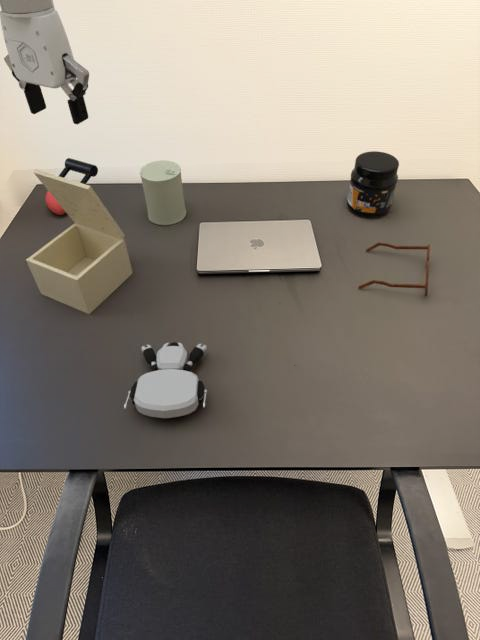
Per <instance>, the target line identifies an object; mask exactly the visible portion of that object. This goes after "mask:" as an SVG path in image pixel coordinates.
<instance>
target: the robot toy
mask: <svg viewBox="0 0 480 640" xmlns="http://www.w3.org/2000/svg"><path fill="white" fill-rule="evenodd" d="M145 346H146V347H145ZM207 348H208V346H207V345H206V344H203V343H198V344H197V345H196V346H194V347H193V348H192V349H191V351H190V353H189V355H188V351H187V349H186V348H185V347H184V345H183V343H181V342H179V341H177V342H176V341H173V342H171V343H170V342H166V343H164V344H163V346H162V347H161V348H160V349H159V350H158V351H157V352H155V350H154V349H153V346H152V345H150V344H146V345H142V346H141V352H142V356H143V357H144V361H145V362H146V363H147V364H148V365H150V370H151V371H149V372H146V373H144V374H142V375H140V376H139V378H138V379H137V381H135V382H134V383H133V385H132V386H131V388H130V390H128V392H127V394H128V395H127V397H126V399H125V403H124V404H123V408H124V409H127V406H128V402H129V400H130V401H131V404H132V405H133V406H135V408H136V410H137V412H139V413H140V414H142V415H144V416H147V417H151V418H159V419H172V418H177V417H183V416H187V415H190V414H191V413H193V412H195V411H196V410H197V409H198V406H199V405H201V404H202V408H206V399H207V395H208V389H205V388H206V387H205V384H204V382H203V381H202V380H200V379H199V377H198V375H197V374H196V373H194V372H192V366H193V365H196V364H198V363H199V362H200V361H201V360H202V358H203V357H204V355H205V354H204V353H205V352H206V351H207Z"/></svg>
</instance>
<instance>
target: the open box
mask: <svg viewBox="0 0 480 640" xmlns="http://www.w3.org/2000/svg"><path fill="white" fill-rule="evenodd" d="M25 262H26V263H27V267H28V268H29V270H30V273H31V274H32V277H33V279H34V281H35V283H36V286H37V288H38V290H39V292H40V294H41V295H42V296H45V297H47V298H49V299H51V300H54V301H56V302H58V303H61V304H64V305H66V306H68V307H70V308H73V309H75V310H78V311H80V312H83V313H85V314H87V315H91V314H92V312H94V311H95V310H96V309H97V308H98V307H99V306H100V305H102V303H104V301H105V300H107V299H108V297H110V296H111V295H112V294H113V293H114V292H115V291H116V290H117V289H118V288H119V287H120V286H122V284H124V282H125V281H126V280H127V279H129V277H131V276H132V275H133V268H132V264H131V261H130V257H129V252H128V247H127V245H126V240H125V238H123V239H122V238H119V237H116V236H114V235H111V234H108V233H105V232H102V231H99V230H96V229H93V228H90V227H87V226H84V225H82V224H79V223H76V222H73V224H71V225H70V226H69V227H67V228H66V229H65V230H64V231H62V232H61V233H60V234H58V235H57V236H55V237H54V238H53V239H51V240H50V241H49V242H47V243H46V244H45V245H44V246H42V247H41V248H39V249H38V250H37V251H36V252H34V253H33V254H32V255H30V256H29V257H27V258H26V259H25Z"/></svg>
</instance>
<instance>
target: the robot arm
mask: <svg viewBox="0 0 480 640" xmlns="http://www.w3.org/2000/svg"><path fill="white" fill-rule="evenodd" d="M0 25H1V30H2V35H3V40H4V43H5V44H4V45H5V47H6V51H7V55H6V56H4V58H3V60H4V62H5V64H6V65H7V67H8V68H9V70H10V71H11V75H12V76H13V78H14V79H15V80H16V81H17V82H18V87H19V88H20V89H21V90H22V91H23V93H24V96H25V100H26V102H27V105H28V108H29V111H30V113H31V114H33V115H35V114H38V113H40V112H42V111H44V110H46V109H47V105H46V101H45V97H44V95H43V91H42V87H45V88H50V89H58V88H61V89H62V91H63V92H64V93H65V95H66V96H67V97H68V98H69V99H67V105H68V108H69V112H70V116H71V120H72V123H73V124H74V125H80V124H81V123H83V122H84V121H86V120H88V119H89V113H88V108H87V105H86V104H87V103H86V101H85V97H84V96H85V95H86V93H87V90H88V89H89V80H90V72H89V70H88V69H87V68H85V67H84V66H83V65H81V63H79V62H78V61H76V60H75V58H74V55H73V51H72V47H71V45H70V42H69V39H68V35H67V32H66V30H65V27H64V25H63V22H62V20H61V17H60V14H59V13H58V10H57V9H56V8H55V4H54V0H0ZM70 84H71V86H72V87H73V89H72V88H71V86H70Z"/></svg>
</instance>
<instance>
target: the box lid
mask: <svg viewBox="0 0 480 640" xmlns="http://www.w3.org/2000/svg"><path fill="white" fill-rule="evenodd" d="M70 171H72V172H75V173H79V174H82V175H84V176H83V177H82V179H81V180H80V181H79V182H78V181H76V180H73V179H69V178H66V176H67V175H68V174H69V172H70ZM98 172H99V168H98V166H97V165H95V164H92V163H88V162H85V161H81V160H78V159H74V158H71V157H68V158H66V159H65V160H64V168H63V169H62V171H61V172H60V173H59V175H56V174H53V173H50V172H47V171H43V170H39V169H37V168H36V169H35V170H34V171H33V174H34V176H35V177H36V178H37V179H38V180H39V181H40V183H41V184H42V185H43V186H44V188H45V189H46V190H47V192H48V191H49V192H50V193H51V195H52V196H53V197H54V198H55V199H56V201H57V202H58V203H59V204H60V205H61V207H62V208H63V209H64V210H65V212H66V213H65V214H67V215H68V217H69V218H70V219H71V221H73V223H78V224H81V225H84V226H87V227H90V228H93V229H96V230H99V231H102V232H105V233H108V234H110V235H113V236H116V237H119V238H122V239H125V236H126V235H125V233H124V231H122V229H121V228H120V226H119V225H118V223H117V221H116V220H115V219H114V217H113V216H112V214H111V213H110V212H109V210H108V209H107V207H106V206H105V205H104V203H103V202H102V200H101V199H100V197H99V196H98V195H97V193H96V192H95V190H94V189H93V187H92V186H91V185H89V184H88V182H89V181H90V179H91V177H92V178H95V177H97V175H98Z"/></svg>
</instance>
